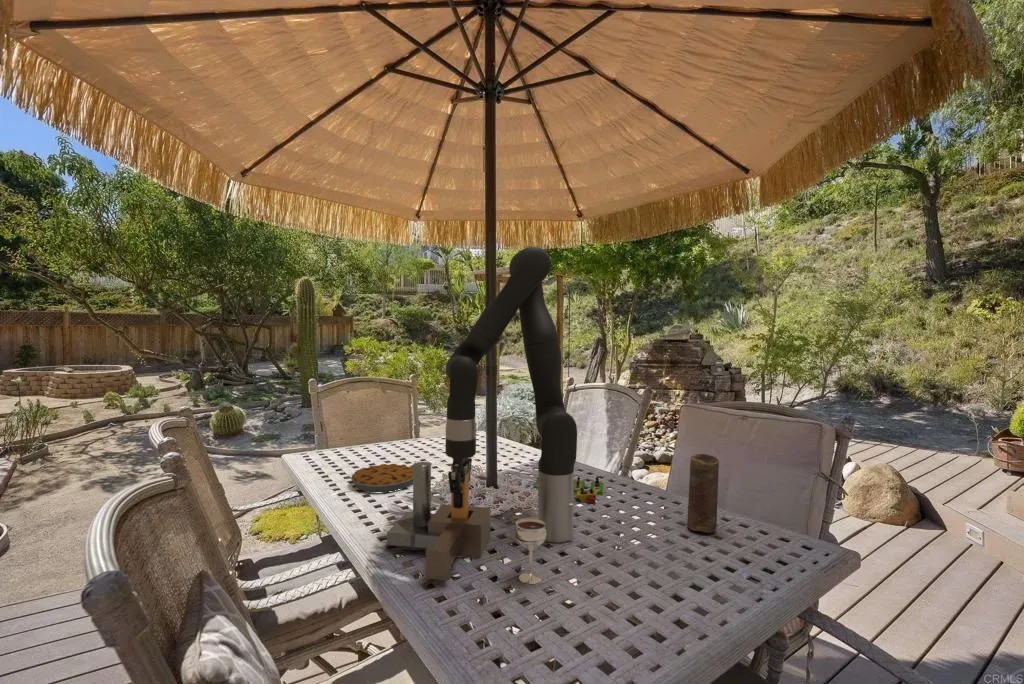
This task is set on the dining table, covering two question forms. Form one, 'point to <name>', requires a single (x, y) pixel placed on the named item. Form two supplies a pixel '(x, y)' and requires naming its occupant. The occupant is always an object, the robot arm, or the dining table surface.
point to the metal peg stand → (416, 514)
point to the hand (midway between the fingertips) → (460, 504)
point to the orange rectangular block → (463, 512)
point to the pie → (383, 478)
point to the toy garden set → (585, 495)
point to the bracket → (456, 539)
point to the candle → (703, 493)
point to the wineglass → (530, 542)
